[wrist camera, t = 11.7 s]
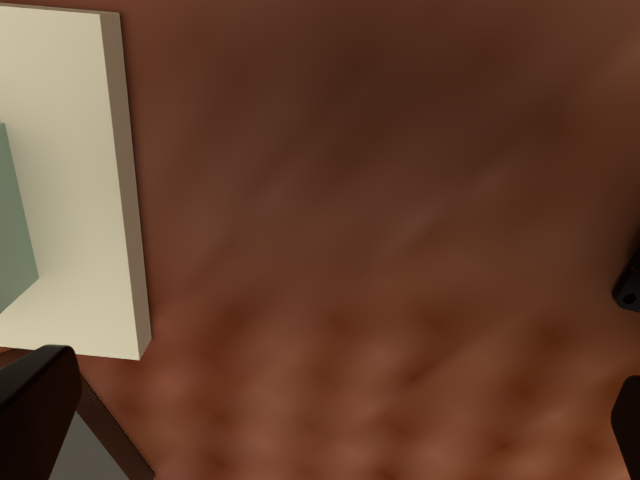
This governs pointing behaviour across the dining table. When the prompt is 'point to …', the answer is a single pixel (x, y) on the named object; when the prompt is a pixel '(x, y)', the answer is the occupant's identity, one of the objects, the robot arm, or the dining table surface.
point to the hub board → (73, 182)
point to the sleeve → (13, 232)
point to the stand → (92, 441)
